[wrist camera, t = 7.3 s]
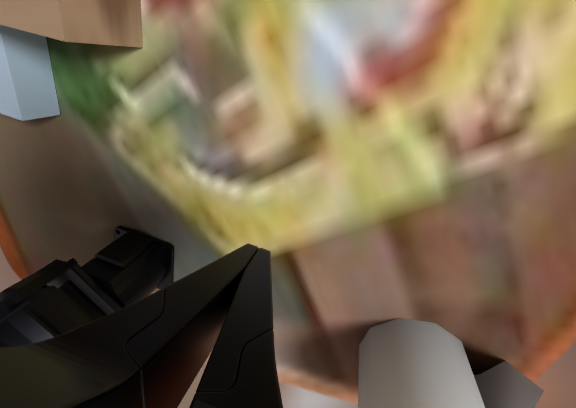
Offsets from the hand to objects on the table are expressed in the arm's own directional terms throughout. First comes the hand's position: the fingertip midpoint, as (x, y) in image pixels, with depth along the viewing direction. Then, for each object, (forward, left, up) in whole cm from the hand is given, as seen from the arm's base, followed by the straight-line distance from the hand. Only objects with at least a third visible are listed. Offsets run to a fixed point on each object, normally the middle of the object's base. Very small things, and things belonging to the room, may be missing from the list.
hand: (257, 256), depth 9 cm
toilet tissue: (-15, -15, -12) cm, 25 cm away
